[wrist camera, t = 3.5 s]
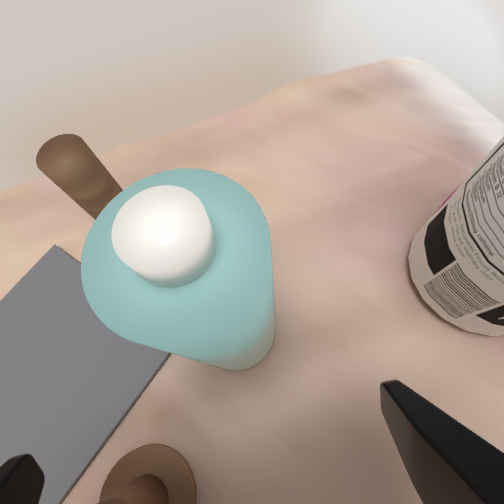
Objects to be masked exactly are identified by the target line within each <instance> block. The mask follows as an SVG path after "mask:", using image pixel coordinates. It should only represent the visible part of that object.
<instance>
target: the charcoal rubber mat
mask: <svg viewBox="0 0 504 504" xmlns="http://www.w3.org/2000/svg"><path fill="white" fill-rule="evenodd" d="M170 355H171V353H169V352H166V351H162V350H159V349H156V348H152V347H149V346H146V345H142V344H139V343H136V342H132V341H130V340H128V339H125V338H123V337H121V336H119V335H118V334H116V333H115V332H113V331H112V330H110V329H109V328H108V327H107V326H106V325H105V324H104V323H103V322H102V321H100V319H99V318H98V317H97V316H96V314H95V313H94V312H93V310H92V308H91V306H90V305H89V303H88V301H87V298H86V295H85V293H84V290H83V285H82V279H81V264H80V263H79V262H78V261H76V260H75V259H74V258H72V257H71V256H70V255H68V254H67V253H66V252H64V251H63V250H62V249H60V248H59V247H58V246H56V245H55V244H54V246H53V247H52V248H51V249H50V250H49V251H48V252H47V253H46V254H45V255H44V256H43V257H42V258H41V259H40V260H39V261H38V262H37V263H36V264H35V265H34V266H33V267H32V268H31V269H30V271H29V272H28V273H27V274H26V275H25V276H24V277H23V278H22V279H21V280H20V281H19V282H18V283H17V284H16V285H15V286H14V287H13V288H12V289H11V290H10V291H9V292H8V293H7V295H6V296H5V297H4V298H3V299H2V300H1V301H0V466H2V465H3V464H4V463H5V462H6V461H7V460H8V459H10V458H11V457H13V456H17V455H22V454H31V455H32V456H33V457H34V459H35V460H36V462H37V463H38V465H39V466H40V468H41V469H42V471H43V472H44V475H45V483H44V487H43V490H42V494H41V497H40V501H39V504H61V503H62V502H63V500H64V499H65V498H66V496H67V495H68V493H69V492H70V491H71V489H72V488H73V487H74V485H75V484H76V483H77V481H78V480H79V478H80V477H81V476H82V474H83V473H84V472H85V470H86V469H87V468H88V466H89V465H90V463H91V462H92V461H93V459H94V458H95V457H96V455H97V454H98V453H99V451H100V450H101V449H102V447H103V446H104V444H105V443H106V442H107V440H108V439H109V438H110V436H111V435H112V434H113V432H114V431H115V429H116V428H117V427H118V425H119V424H120V423H121V421H122V420H123V419H124V417H125V416H126V414H127V413H128V412H129V410H130V409H131V408H132V406H133V405H134V404H135V402H136V401H137V399H138V398H139V397H140V395H141V394H142V393H143V391H144V390H145V389H146V387H147V386H148V384H149V383H150V382H151V380H152V379H153V378H154V376H155V375H156V374H157V372H158V371H159V370H160V368H161V367H162V365H163V364H164V363H165V361H166V360H167V359H168V357H169V356H170Z"/></svg>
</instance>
